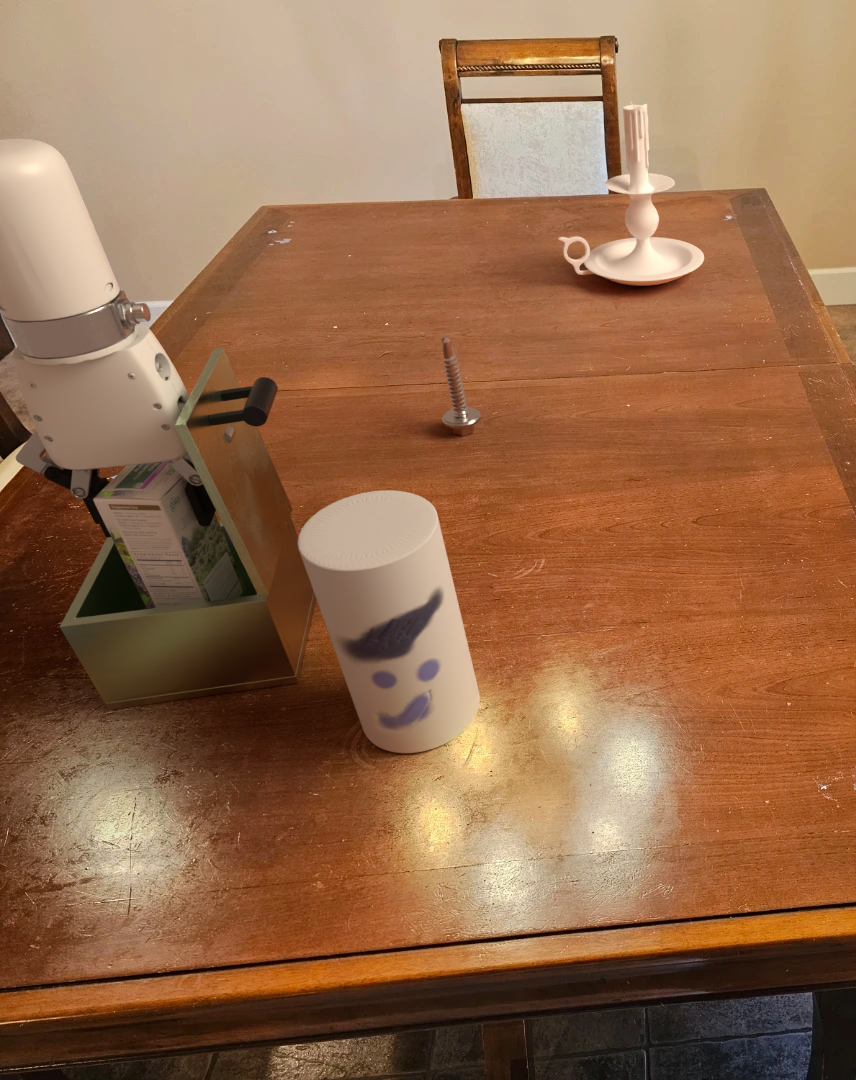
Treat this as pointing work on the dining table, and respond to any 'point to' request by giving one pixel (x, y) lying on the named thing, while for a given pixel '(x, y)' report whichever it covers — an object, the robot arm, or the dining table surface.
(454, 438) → the dining table surface
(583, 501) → the dining table surface
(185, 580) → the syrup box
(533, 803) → the dining table surface
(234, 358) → the dining table surface
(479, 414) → the screw
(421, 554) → the container
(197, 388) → the lid
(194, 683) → the bin
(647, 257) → the candlestick
